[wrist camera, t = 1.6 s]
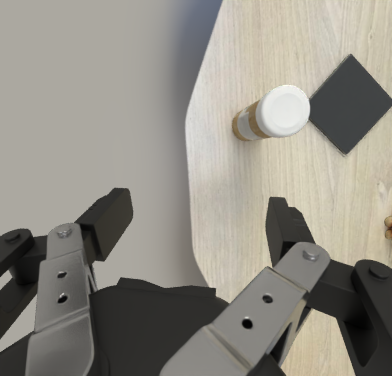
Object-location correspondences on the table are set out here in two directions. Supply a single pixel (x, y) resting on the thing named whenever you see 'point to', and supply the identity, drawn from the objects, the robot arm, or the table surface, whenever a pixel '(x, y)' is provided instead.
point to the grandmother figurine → (388, 222)
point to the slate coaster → (348, 104)
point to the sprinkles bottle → (273, 115)
